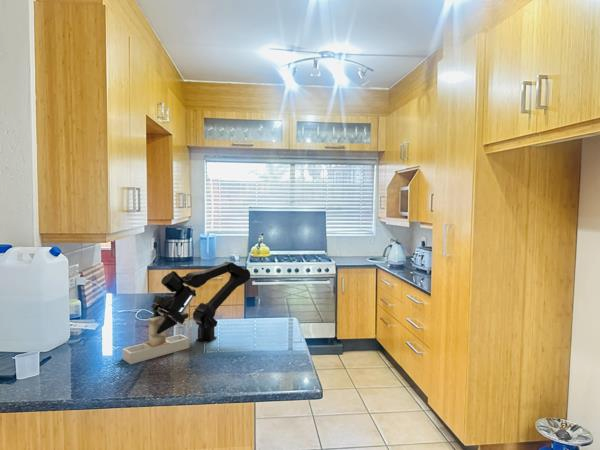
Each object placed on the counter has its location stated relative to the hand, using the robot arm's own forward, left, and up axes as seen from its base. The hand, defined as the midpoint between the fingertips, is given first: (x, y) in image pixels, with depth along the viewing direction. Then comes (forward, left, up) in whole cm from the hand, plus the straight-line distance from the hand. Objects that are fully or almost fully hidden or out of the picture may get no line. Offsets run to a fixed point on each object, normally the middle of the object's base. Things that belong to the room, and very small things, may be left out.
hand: (153, 331), depth 156 cm
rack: (-1, -1, -9) cm, 9 cm away
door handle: (+30, -39, -10) cm, 50 cm away
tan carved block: (-1, -1, -8) cm, 8 cm away
